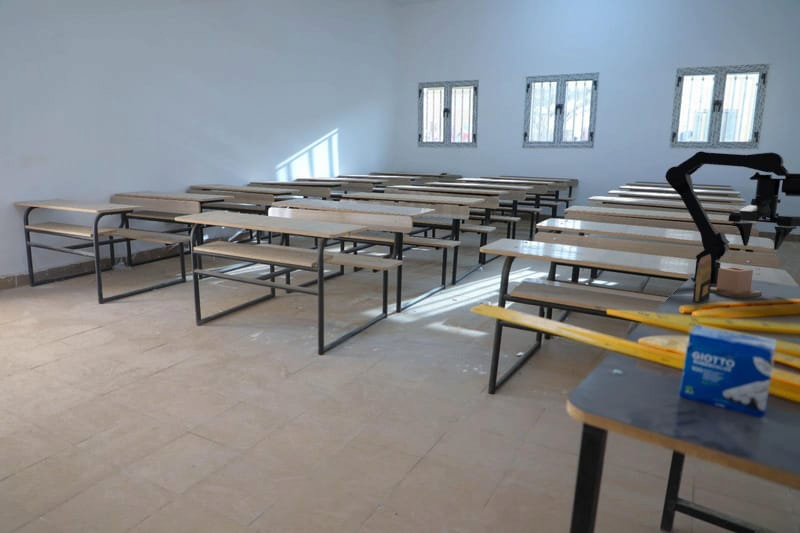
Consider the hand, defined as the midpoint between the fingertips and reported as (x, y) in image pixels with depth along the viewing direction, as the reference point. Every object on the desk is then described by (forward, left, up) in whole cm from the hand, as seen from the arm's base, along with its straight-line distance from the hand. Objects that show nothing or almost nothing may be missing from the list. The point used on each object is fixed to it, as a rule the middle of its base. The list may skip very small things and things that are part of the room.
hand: (760, 247), depth 165 cm
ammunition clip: (+6, -31, -12) cm, 34 cm away
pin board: (+4, -16, -12) cm, 20 cm away
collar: (+4, -16, -11) cm, 20 cm away
